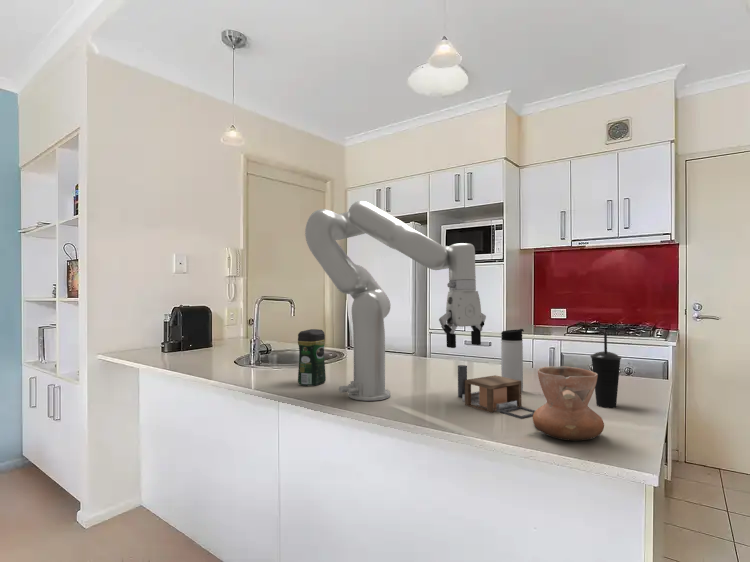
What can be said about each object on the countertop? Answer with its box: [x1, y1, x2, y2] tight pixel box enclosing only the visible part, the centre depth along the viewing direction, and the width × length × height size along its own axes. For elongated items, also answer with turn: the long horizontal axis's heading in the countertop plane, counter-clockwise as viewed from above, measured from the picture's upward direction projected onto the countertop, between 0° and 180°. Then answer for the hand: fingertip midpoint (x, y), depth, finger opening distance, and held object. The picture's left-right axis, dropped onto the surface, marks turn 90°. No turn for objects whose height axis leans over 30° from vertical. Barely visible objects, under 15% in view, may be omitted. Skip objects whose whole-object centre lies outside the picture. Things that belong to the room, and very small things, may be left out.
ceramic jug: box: [532, 365, 605, 442], centre depth 100 cm, size 18×14×14 cm
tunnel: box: [464, 374, 523, 414], centre depth 119 cm, size 12×9×8 cm
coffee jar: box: [297, 328, 327, 387], centre depth 154 cm, size 10×8×19 cm
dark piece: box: [499, 406, 536, 420], centre depth 112 cm, size 8×7×2 cm
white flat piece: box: [457, 364, 518, 413], centre depth 122 cm, size 7×18×10 cm, turn 33°
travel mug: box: [500, 328, 524, 393], centre depth 138 cm, size 6×7×20 cm
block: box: [478, 386, 507, 409], centre depth 119 cm, size 5×5×5 cm
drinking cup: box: [590, 332, 622, 409], centre depth 124 cm, size 8×8×20 cm
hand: (463, 346), depth 129 cm, fingers open, 9 cm apart
